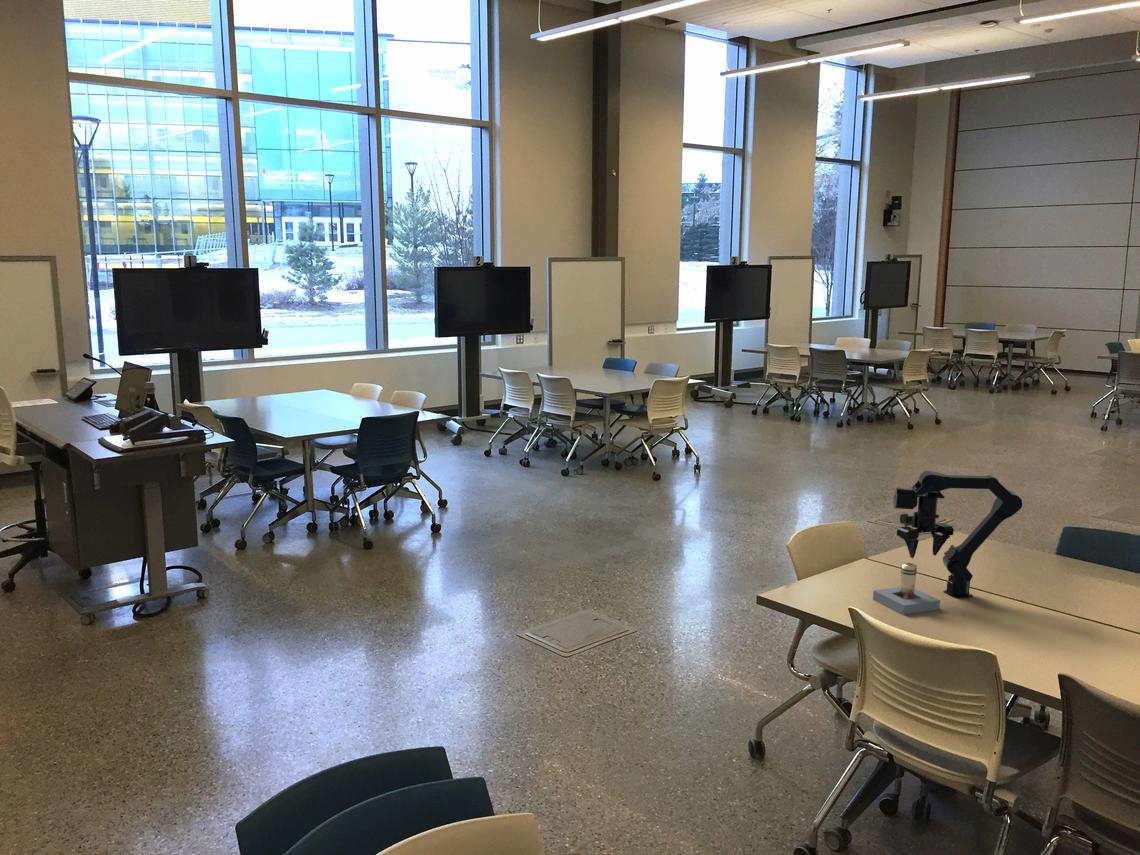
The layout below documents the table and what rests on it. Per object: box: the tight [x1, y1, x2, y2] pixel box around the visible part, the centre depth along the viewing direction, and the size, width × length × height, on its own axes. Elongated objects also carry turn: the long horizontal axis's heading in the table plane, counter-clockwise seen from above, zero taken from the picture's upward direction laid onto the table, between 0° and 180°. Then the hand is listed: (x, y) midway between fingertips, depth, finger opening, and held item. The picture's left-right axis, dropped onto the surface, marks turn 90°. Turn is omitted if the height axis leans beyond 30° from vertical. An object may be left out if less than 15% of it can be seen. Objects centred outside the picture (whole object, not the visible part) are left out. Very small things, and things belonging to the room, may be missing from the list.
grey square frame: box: [872, 586, 941, 616], centre depth 279 cm, size 14×14×3 cm
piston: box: [899, 562, 918, 600], centre depth 278 cm, size 5×5×13 cm
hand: (923, 556), depth 289 cm, fingers open, 9 cm apart
